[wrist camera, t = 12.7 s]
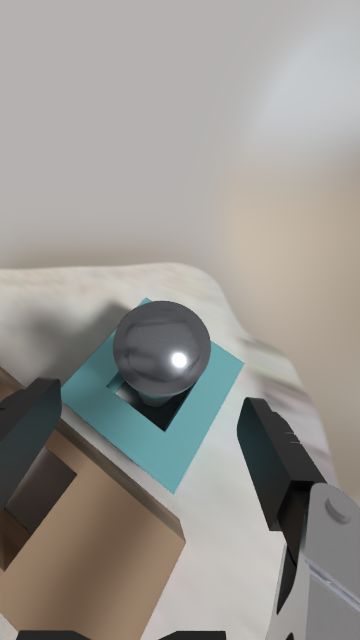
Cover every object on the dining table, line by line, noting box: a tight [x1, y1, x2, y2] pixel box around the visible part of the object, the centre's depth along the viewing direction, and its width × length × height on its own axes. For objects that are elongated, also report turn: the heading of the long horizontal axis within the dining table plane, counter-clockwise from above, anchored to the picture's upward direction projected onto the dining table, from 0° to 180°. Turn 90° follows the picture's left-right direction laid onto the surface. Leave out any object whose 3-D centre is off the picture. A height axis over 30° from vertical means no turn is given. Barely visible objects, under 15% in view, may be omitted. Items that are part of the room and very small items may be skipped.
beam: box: [0, 367, 186, 640], centre depth 14 cm, size 20×7×4 cm, turn 56°
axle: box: [113, 301, 211, 407], centre depth 14 cm, size 4×4×12 cm
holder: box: [61, 298, 245, 494], centre depth 18 cm, size 10×10×4 cm
